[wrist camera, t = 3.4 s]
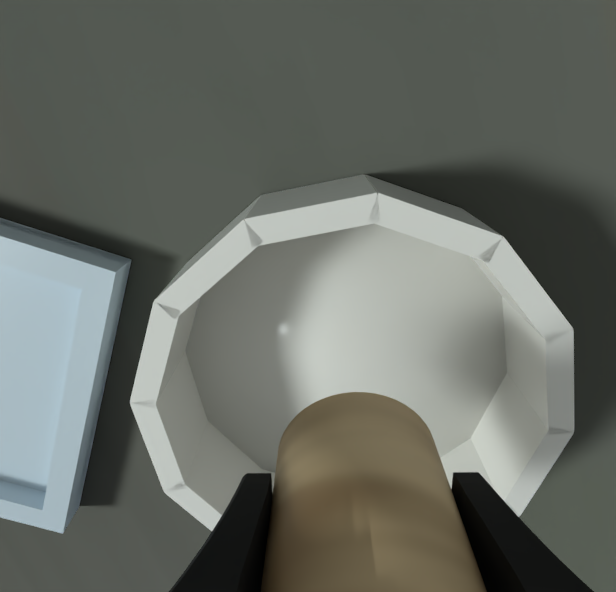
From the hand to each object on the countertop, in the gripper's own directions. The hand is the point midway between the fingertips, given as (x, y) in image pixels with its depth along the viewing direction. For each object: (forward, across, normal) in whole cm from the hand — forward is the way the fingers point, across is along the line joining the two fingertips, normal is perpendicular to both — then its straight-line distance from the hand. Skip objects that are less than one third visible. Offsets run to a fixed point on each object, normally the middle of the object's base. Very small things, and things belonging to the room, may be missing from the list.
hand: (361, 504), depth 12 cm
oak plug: (+2, 0, 0) cm, 2 cm away
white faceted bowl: (+8, 0, 0) cm, 8 cm away
